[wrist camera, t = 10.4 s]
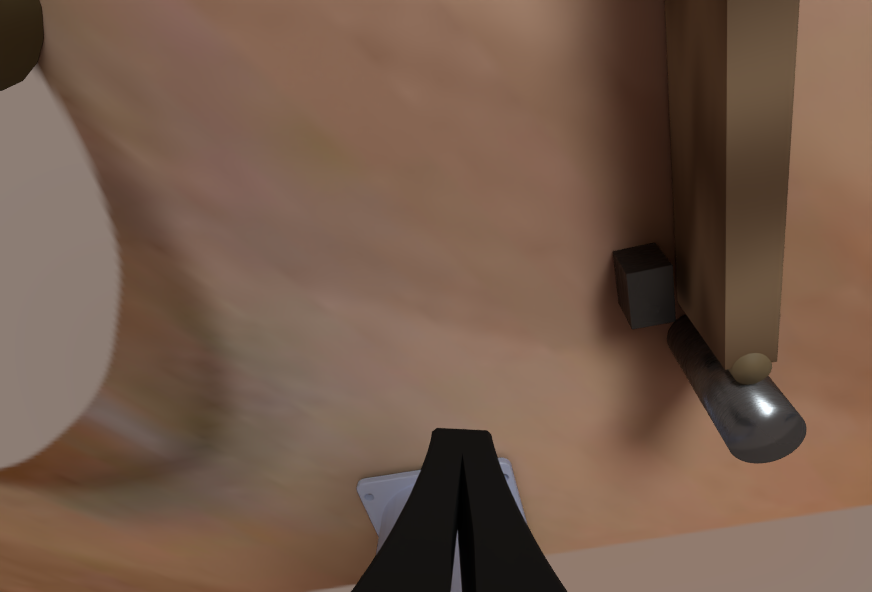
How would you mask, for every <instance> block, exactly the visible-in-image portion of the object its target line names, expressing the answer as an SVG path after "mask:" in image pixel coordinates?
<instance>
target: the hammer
mask: <svg viewBox="0 0 872 592" xmlns="http://www.w3.org/2000/svg"><path fill="white" fill-rule="evenodd" d="M613 258H614V267H615V275H616V284H617V293H618V301H619V305H620V307H621V309H622V311H623V313H624V315H625V317H626V319H627V321H628V323H629V325H630V327H631V328H632V329H637V328H642V327H648V326H653V325H659V324H664V323H669V322H675V321H676V316H675V298H674V281H673V265H672V264H671V262H670V261H669V260H668V259H667V257H666V256H665V255H664V253H663V252H662V251H661V250H660V248H659V247H658V246H657V244H656V243H650V244H646V245H641V246H636V247H631V248H627V249H622V250H617V251H613ZM667 343H668V346H669V348H670V350H671V351H672V353H673V355H674V357H675V358H676V360H677V362H678V363H679V365H680V367H681V369H682V370H683V372H684V374H685V375H686V377H687V379H688V380H689V382H690V384H691V386H692V387H693V389H694V391H695V392H696V394H697V396H698V398H699V399H700V401H701V403H702V404H703V406H704V408H705V409H706V411H707V413H708V415H709V416H710V418H711V420H712V421H713V423H714V425H715V427H716V428H717V430H718V432H719V433H720V435H721V437H722V438H723V440H724V442H725V444H726V445H727V447H728V449H729V450H730V452H731V453H732V455H734V456H735V457H736V458H738V459H739V460H742V461H745V462H749V463H767V462H772V461H776V460H778V459H781V458H783V457H785V456H787V455H789V454H790V453H792V452H793V451H794V450H795V449H797V448H798V447H799V445H800V444H801V443H802V441H803V440H804V438H805V435H806V424H805V421H804V420H803V418H802V417H801V416H800V414H799V413H798V412H797V411H796V409H795V408H794V407H793V406H792V404H791V403H790V402H789V401H788V399H787V398H786V397H785V396H784V395H783V393H782V392H781V391H780V390H779V388H778V387H777V386H776V385H775V383H774V382H773V381H772V380H771V378H770V377H769V376H767V377H766V378H765V379H764V380H762V381H760V382H758V383H755V384H749V385H746V384H741V383H739V382H737V381H736V380H735V379H734V377H733V376H732V375H731V373H730V372H729V370H728V369H727V370H725V369H724V368H723V366H722V365H721V363H720V362H719V360H718V359H717V358H716V356H715V355H714V353H713V352H712V350H711V349H710V348H709V346H708V345H707V343H706V342H705V340H704V339H703V338H702V336H701V335H700V333H699V332H698V331H697V329H696V328H695V326H694V325H693V323H692V322H691V321H690V319H689V318H688V316H687V315H684V316H682V317H681V318H679V319H678V320H677V321H676V322H675V323H674V324H673V325H672V326H671V328H670V330H669V332H668V335H667Z"/></svg>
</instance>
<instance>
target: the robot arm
mask: <svg viewBox="0 0 872 592" xmlns="http://www.w3.org/2000/svg"><path fill="white" fill-rule="evenodd" d="M504 474H505V475H504ZM357 492H358V494H359V496H360V498H361V501H362V503H363V505H364V507H365V509H366V511H367V513H368V515H369V518H370V520H371V522H372V524H373V526H374V528H375V530H376V532H377V535H378V537H379V539H378V545H377V551H376V556H375V558H374V559H373V561H372V562H371V564H370V565H369V567H368V568H367V570H366V571H365V573H364V574H363V575H362V577H361V578H360V580H359V581H358V583H357V584H356V586H355V587H354V588H353V590H352V591H351V592H567V590H566V589H565V587H564V586H563V584H562V583H561V581H560V580H559V578H558V577H557V575H556V574H555V572H554V571H553V569H552V567H551V566H550V564H549V563H548V561H547V559H546V558H545V556H544V554H543V553H542V551H541V549H540V548H539V546H538V544H537V542H536V540H535V539H534V537H533V535H532V533H531V531H530V529H529V527H528V525H527V521H526V518H525V514H524V510H523V506H522V503H521V499H520V495H519V492H518V488H517V484H516V480H515V477H514V473H513V469H512V465H511V463H510V461H509V460H508V459H506V458H498V457H497V454H496V451H495V448H494V444H493V440H492V436H491V434H490V433H489V432H488V431H486V430H466V429H446V428H436V429H435V430H434V431H432V436H431V441H430V445H429V448H428V452H427V455H426V458H425V460H424V463H423V466H422V468H421V470H416V471H409V472H403V473H396V474H390V475H383V476H377V477H370V478H364V479H361V480H360V481H359V482H358V484H357Z"/></svg>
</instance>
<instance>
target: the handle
mask: <svg viewBox="0 0 872 592" xmlns="http://www.w3.org/2000/svg"><path fill="white" fill-rule="evenodd" d="M799 1H800V0H665V19H666V43H667V66H668V90H669V113H670V136H671V160H672V183H673V207H674V230H675V254H676V277H677V300H678V303H679V305H680V306H681V308H682V309H683V311H684V312H685V313H686V315H687V316H688V318H689V319H690V321H691V322H692V323H693V325H694V326H695V328H696V329H697V331H698V332H699V333H700V335H701V336H702V338H703V339H704V340H705V342H706V343H707V345H708V346H709V348H710V349H711V350H712V352H713V353H714V355H715V356H716V358H717V359H718V360H719V362H720V363H721V365H722V366H723V368H724V369H725V370H727V369H728V370H729V372H730V373H731V375H732V376H733V377H734V379H735V380H736V381H737V382H739V383H741V384H746V385H749V384H755V383H758V382H760V381H762V380H764V379H765V378H766V377H767V376H768V375H769V373H770V372H771V369H772V363H771V362H777V354H778V338H779V322H780V306H781V290H782V274H783V258H784V242H785V226H786V210H787V194H788V178H789V162H790V146H791V130H792V114H793V98H794V82H795V66H796V50H797V34H798V18H799Z"/></svg>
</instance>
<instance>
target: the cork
mask: <svg viewBox="0 0 872 592" xmlns="http://www.w3.org/2000/svg"><path fill="white" fill-rule="evenodd" d="M43 39H44V34H43V21H42V8H41V4H40V2H39V0H0V91H2V90H4V89H7V88H8V87H11V86H13V85H15V84H17V83H19V82H21V81H23V80H24V79H25V77H26V76H27V75H28V74H29V72H30V71H31V70H32V69H33V67H34V66H35V65H36V64H37V62H38V58H39V54H40V50H41V46H42V43H43Z"/></svg>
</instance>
